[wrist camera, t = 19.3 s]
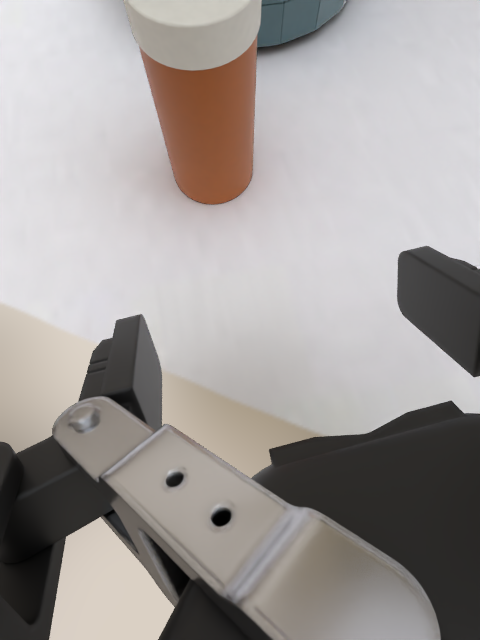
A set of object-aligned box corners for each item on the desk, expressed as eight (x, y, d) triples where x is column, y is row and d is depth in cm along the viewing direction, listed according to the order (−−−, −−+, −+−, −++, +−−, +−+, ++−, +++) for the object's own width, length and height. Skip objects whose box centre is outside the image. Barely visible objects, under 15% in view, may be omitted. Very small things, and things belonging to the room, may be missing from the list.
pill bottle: (215, 122, 23) (194, -100, 13) (271, 170, 22) (293, -30, 12) (155, 170, 22) (88, -30, 13) (211, 222, 21) (185, 49, 12)
